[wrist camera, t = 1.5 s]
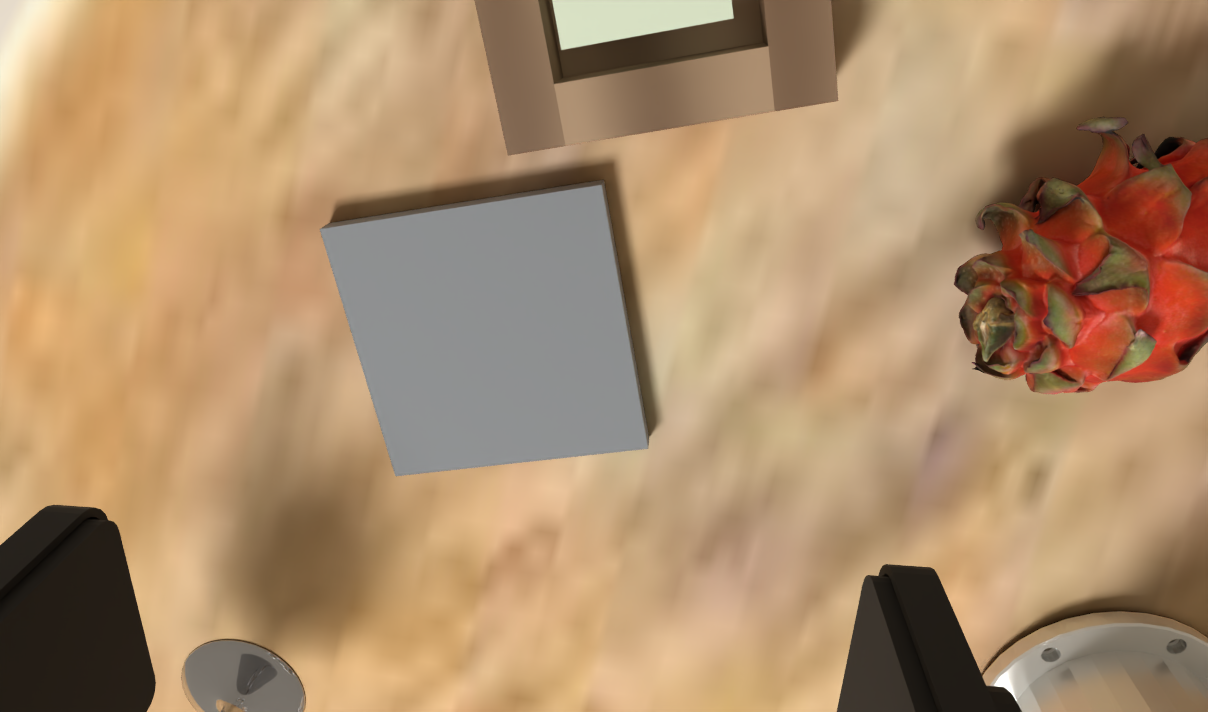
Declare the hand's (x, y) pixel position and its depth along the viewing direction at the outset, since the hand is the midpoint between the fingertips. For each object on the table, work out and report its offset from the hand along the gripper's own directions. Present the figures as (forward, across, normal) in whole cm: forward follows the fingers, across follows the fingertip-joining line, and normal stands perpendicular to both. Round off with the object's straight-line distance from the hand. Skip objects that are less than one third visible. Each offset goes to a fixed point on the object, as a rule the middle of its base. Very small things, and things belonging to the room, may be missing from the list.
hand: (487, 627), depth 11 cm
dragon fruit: (+26, -18, +2) cm, 32 cm away
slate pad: (+26, +5, +8) cm, 28 cm away
